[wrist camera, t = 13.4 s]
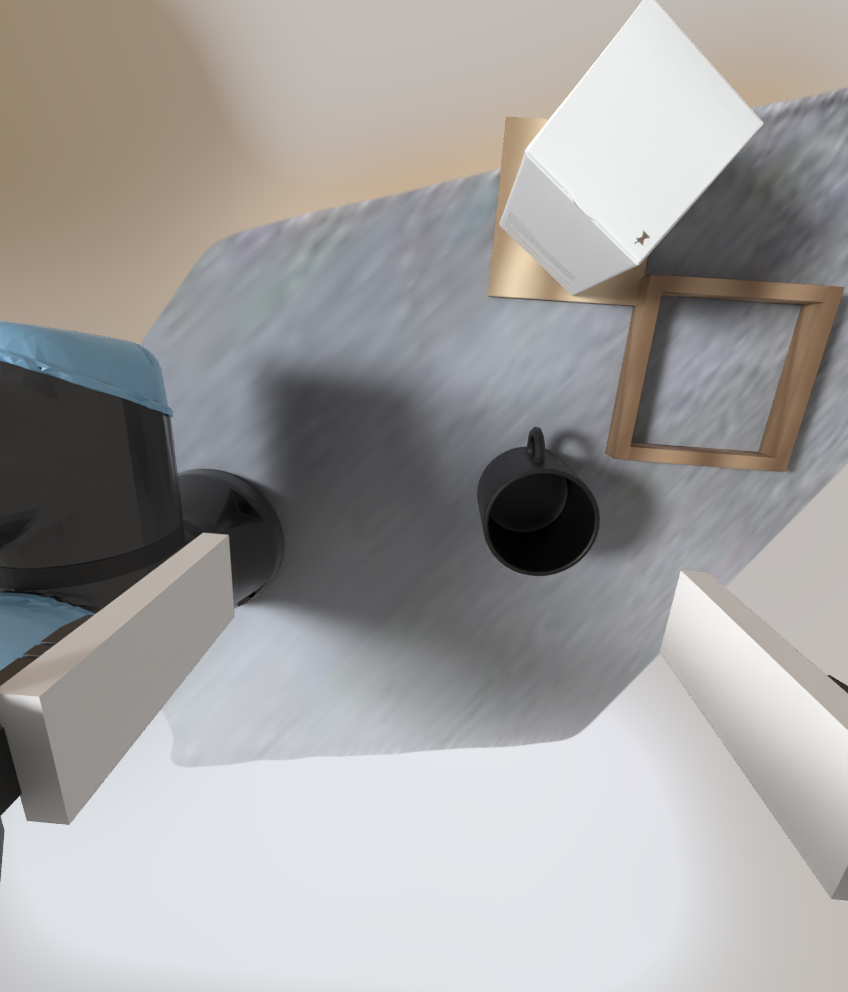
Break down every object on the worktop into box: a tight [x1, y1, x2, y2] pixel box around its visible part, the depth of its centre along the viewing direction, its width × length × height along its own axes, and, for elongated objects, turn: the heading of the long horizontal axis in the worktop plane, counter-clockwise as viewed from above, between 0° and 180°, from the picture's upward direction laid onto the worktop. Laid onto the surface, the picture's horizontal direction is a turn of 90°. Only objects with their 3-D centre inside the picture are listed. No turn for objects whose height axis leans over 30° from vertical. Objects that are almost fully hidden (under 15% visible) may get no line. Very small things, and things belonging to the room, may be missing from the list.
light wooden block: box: [488, 117, 648, 306], centre depth 39 cm, size 13×13×1 cm
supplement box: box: [499, 0, 764, 295], centre depth 31 cm, size 9×9×15 cm
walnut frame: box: [606, 274, 844, 472], centre depth 41 cm, size 15×15×2 cm
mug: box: [477, 427, 600, 576], centre depth 42 cm, size 9×12×9 cm
